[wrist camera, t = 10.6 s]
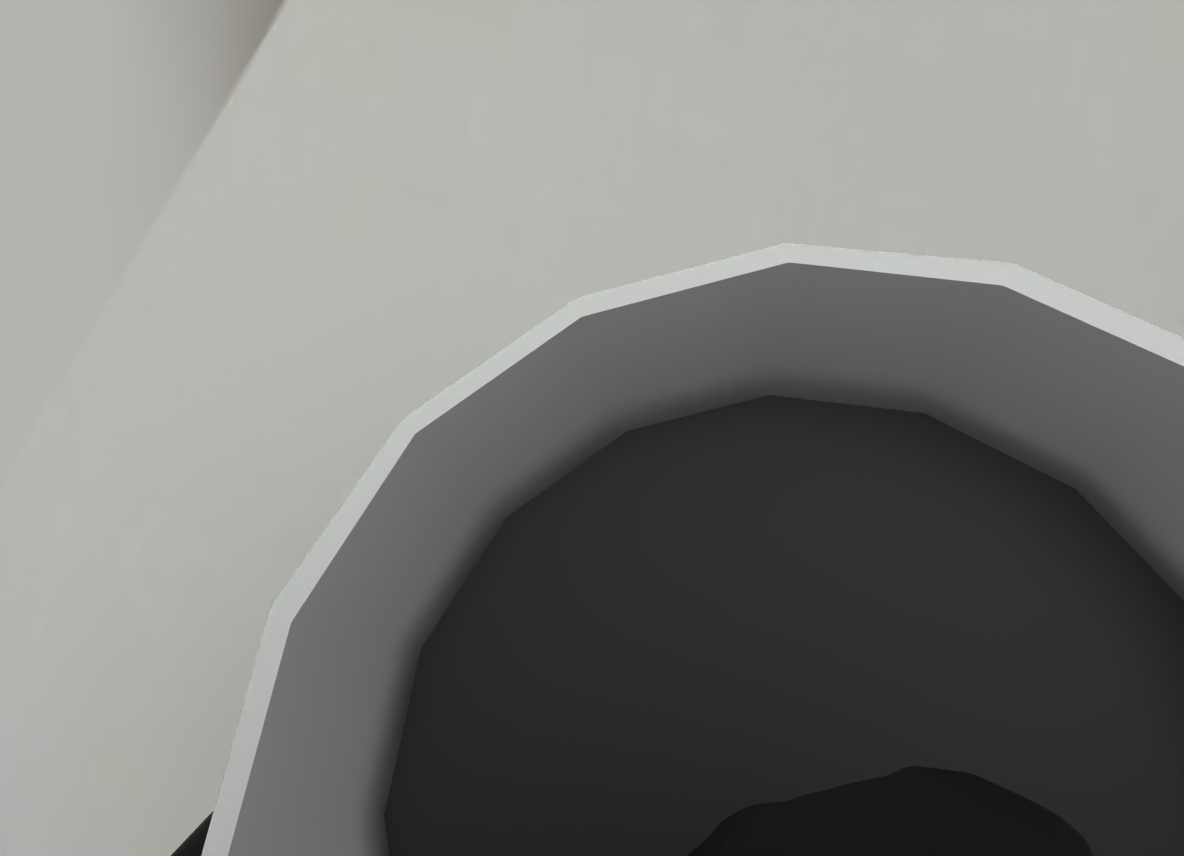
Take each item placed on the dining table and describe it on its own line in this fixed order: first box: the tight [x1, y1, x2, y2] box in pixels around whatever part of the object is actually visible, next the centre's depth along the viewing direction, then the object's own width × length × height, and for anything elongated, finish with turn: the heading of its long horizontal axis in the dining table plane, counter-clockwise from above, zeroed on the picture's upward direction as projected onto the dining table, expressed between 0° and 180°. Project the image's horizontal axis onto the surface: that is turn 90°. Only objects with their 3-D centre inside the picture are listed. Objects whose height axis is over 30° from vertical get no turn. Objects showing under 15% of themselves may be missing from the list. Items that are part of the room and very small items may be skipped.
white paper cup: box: [201, 243, 1184, 856], centre depth 9 cm, size 7×7×10 cm
